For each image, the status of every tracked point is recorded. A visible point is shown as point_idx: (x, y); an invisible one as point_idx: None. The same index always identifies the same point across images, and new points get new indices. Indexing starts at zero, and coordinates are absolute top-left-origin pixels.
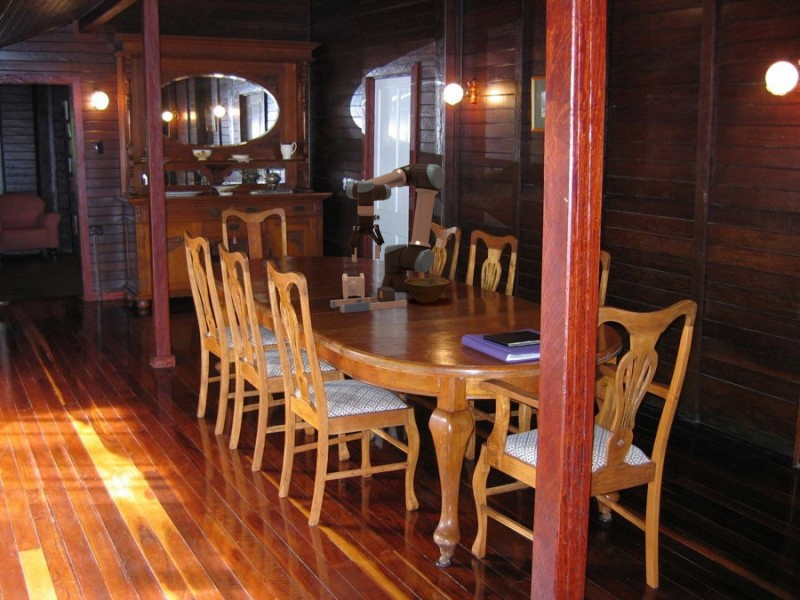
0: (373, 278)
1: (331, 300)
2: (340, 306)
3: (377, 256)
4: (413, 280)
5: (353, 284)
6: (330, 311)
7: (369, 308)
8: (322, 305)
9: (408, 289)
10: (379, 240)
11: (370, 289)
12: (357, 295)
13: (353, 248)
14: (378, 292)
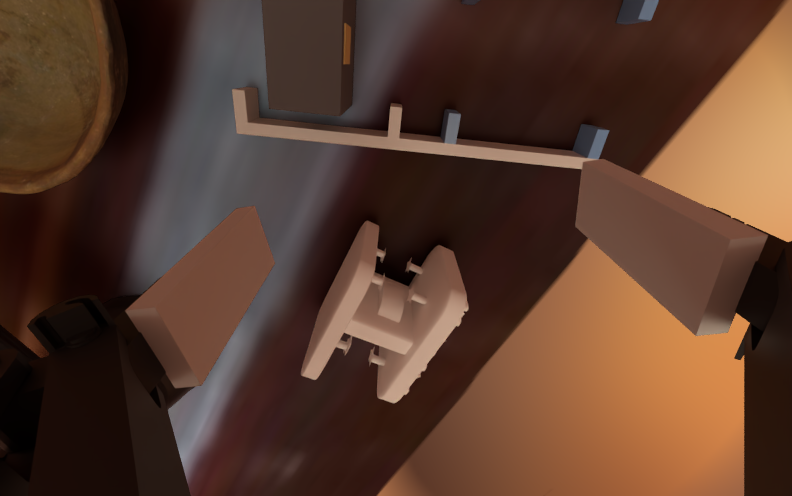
0: None
1: None
2: (651, 7)
3: (250, 238)
4: (38, 172)
5: (393, 299)
6: (660, 55)
7: None
8: None
9: (125, 71)
10: (42, 402)
11: (250, 378)
12: (385, 251)
13: (773, 252)
14: (344, 94)
